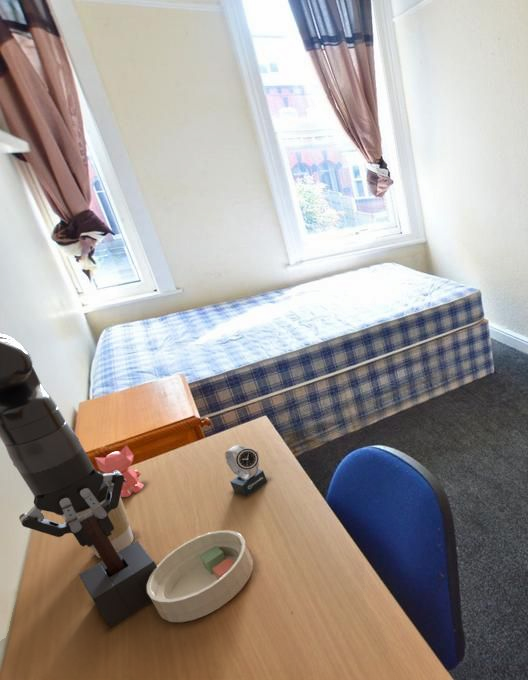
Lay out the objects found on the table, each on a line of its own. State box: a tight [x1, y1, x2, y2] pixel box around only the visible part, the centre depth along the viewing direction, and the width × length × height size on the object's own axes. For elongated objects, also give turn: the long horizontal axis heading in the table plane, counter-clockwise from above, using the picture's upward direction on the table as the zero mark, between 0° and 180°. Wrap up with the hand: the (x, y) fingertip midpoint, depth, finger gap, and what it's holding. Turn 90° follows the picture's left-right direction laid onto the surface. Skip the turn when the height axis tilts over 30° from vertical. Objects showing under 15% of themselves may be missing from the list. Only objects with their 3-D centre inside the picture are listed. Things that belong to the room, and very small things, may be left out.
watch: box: [224, 444, 268, 497], centre depth 108 cm, size 6×8×11 cm
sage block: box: [200, 546, 226, 575], centre depth 88 cm, size 3×3×3 cm
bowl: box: [147, 529, 254, 623], centre depth 84 cm, size 15×15×6 cm
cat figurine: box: [94, 444, 145, 498], centre depth 110 cm, size 7×7×12 cm
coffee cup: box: [54, 481, 134, 559], centre depth 94 cm, size 10×10×15 cm
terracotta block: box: [212, 558, 234, 580], centre depth 85 cm, size 3×3×3 cm
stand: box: [78, 540, 157, 628], centre depth 83 cm, size 9×9×7 cm
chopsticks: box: [78, 512, 125, 576], centre depth 81 cm, size 2×1×16 cm, turn 143°
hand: (99, 538), depth 79 cm, fingers closed on chopsticks
